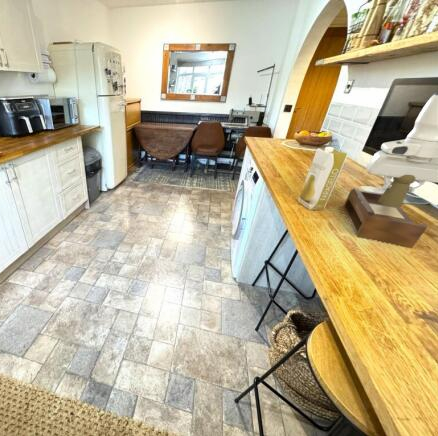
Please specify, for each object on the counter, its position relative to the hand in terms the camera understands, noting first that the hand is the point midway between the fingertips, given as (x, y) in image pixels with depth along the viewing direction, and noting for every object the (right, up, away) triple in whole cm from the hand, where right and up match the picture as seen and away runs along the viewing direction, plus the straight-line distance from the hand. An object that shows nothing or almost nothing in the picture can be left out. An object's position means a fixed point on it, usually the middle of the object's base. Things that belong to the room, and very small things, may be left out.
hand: (396, 190), depth 79 cm
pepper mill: (0, -4, +2) cm, 5 cm away
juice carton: (-15, -4, +20) cm, 25 cm away
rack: (-1, -12, +7) cm, 14 cm away
